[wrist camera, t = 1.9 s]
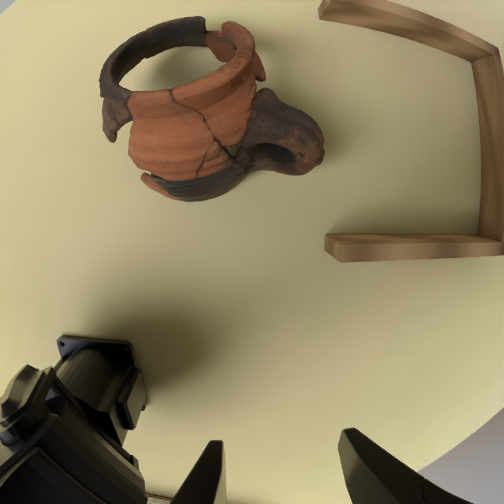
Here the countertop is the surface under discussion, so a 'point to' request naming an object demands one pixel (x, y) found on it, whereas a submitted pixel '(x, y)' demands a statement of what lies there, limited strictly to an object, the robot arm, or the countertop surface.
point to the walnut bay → (491, 132)
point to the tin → (157, 499)
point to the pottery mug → (205, 115)
